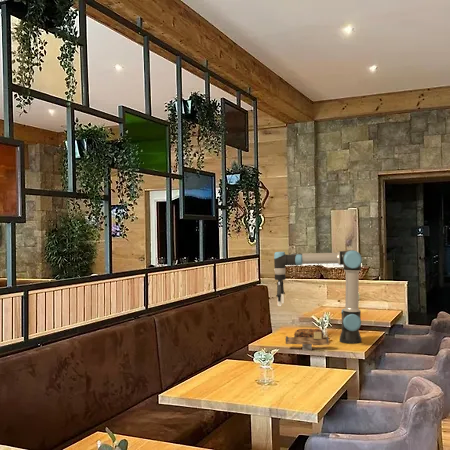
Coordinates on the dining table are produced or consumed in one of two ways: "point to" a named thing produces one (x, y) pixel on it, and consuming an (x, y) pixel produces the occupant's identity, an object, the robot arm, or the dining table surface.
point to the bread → (307, 333)
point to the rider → (317, 335)
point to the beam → (306, 342)
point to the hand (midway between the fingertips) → (280, 304)
